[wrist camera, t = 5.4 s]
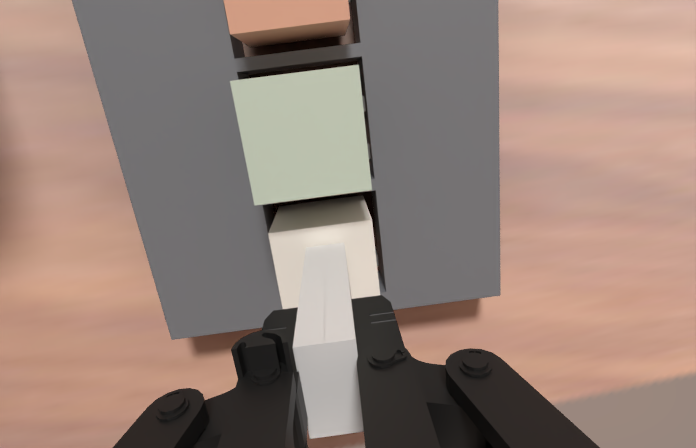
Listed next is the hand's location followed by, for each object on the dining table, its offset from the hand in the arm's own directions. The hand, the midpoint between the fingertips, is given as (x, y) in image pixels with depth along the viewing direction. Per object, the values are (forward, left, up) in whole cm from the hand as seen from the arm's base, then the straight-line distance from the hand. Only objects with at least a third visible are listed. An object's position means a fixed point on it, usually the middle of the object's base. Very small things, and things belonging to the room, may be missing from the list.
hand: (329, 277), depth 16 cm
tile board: (0, +6, -5) cm, 8 cm away
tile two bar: (0, +6, -3) cm, 6 cm away
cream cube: (0, 0, -4) cm, 4 cm away
